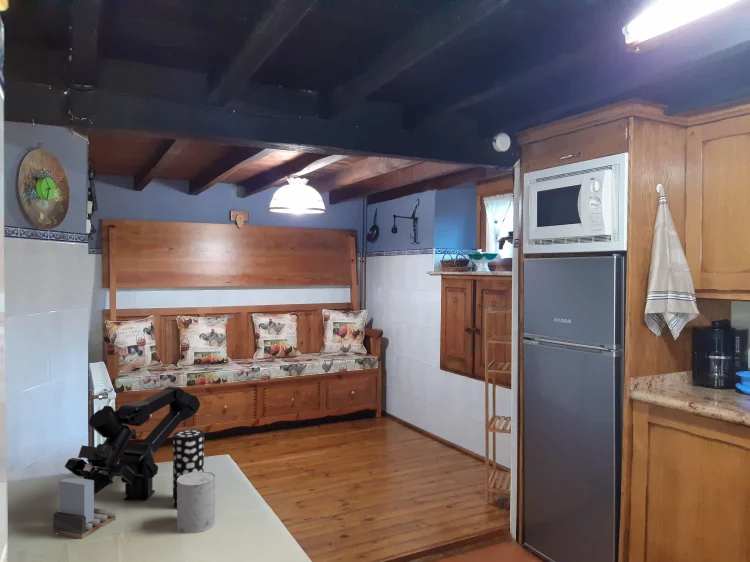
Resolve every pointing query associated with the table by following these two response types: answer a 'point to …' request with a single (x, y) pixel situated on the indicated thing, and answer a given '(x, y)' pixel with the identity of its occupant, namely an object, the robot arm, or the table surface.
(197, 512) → the speckled concrete cylinder
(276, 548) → the table surface
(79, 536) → the roller track
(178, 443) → the spotted tube
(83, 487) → the slab
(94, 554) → the table surface
